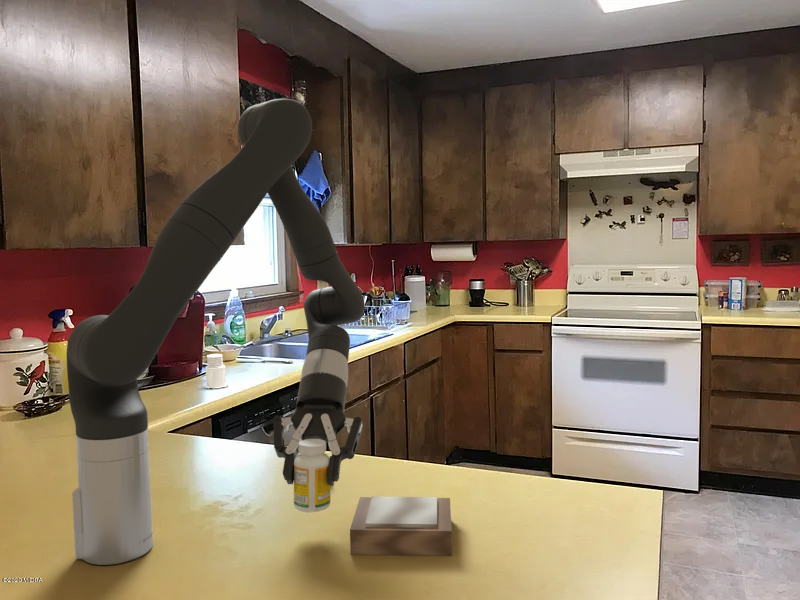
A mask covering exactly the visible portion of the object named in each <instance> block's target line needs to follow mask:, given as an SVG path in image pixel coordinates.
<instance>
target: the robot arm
mask: <svg viewBox="0 0 800 600" xmlns="http://www.w3.org/2000/svg"><path fill="white" fill-rule="evenodd" d="M312 132H313V122H312V117H311V115H310V112H309V110H308V109H307V107H305V106H304V104H302V103H301V102H299V101H298V100H294V99H290V98H275V99H271V100H268V101H264V102H261V103H257V104H254V105H252V106H249V107H248V108H246V110H244V111H243V112H242V114H240V118H239V119H238V125H237V134H238V138H239V140H240V143H241V146H242V147H241V149H239V151H238V152H237V153H236V155H234V157H233V158H232V159H231V160H230V161H229V162H227V163H226V164H225V165H224V166H222V167H221V168H220V169H218V170H217V171H216V172H214V173H213V174H212V175H211V176H209V177H208V178H207V179H205V180H204V181H203V182H202V183H201V184H199V185H198V186H197V187H196V188H195V189H194V190H192V191H191V193H189V195H188V196H186V198H185V199H184V200H183V201H182V202H181V203H180V204H179V206H178V207H177V208H176V209H175V211H174V212H173V213H172V215H171V216H170V217H169V218H168V220H167V221H166V223H165V224H164V226H163V227H162V229H161V230H160V232H159V233H158V236H157V237H156V240H155V242H154V245H153V247H152V250H151V252H150V254H149V258H148V260H147V262H146V265H145V268H144V270H143V272H142V274H141V276H140V278H139V279H138V281H137V283H136V284H135V285H134V287H132V289H131V291H129V293H128V294H127V295H126V296H125V297H124V299H123V300H122V301H121V302H120V303H119V304H118V305H117V306H116V308H115V309H114V310H113V311H112V312H110V313H109V314H108V315H107V314H100V315H99V314H98V315H93V316H90V317H87V318H85V319H83V320H82V321H80V322H79V323H78V324H77V325H76V326H75V327H74V328H73V330H72V331H71V333H70V335H69V337H68V340H67V345H66V370H67V371H66V372H67V382H68V384H67V385H68V396H69V405H70V406H69V407H70V410H71V414H72V417H73V420H74V425H75V426H74V427H75V443H76V459H77V462H76V463H77V479H78V483H77V484H78V487H77V488H75V489H74V490H72V494H71V495H72V497H71V498H72V500H71V501H72V513H73V514H72V515H73V516H72V518H73V535H74V537H73V538H74V555H75V560H83V561H85V562H86V563H89V564H92V565H98V566H101V565H103V566H105V565H106V566H107V565H116V564H121V563H125V562H129V561H133V560H135V559H139V558H140V557H142V556H143V555H145V554H147V553H148V552H150V550H152V547H153V545H154V542H153V541H154V539H153V533H154V531H153V530H154V529H153V516H152V515H153V514H152V513H153V512H152V510H153V509H152V492H151V491H152V489H151V470H150V469H151V468H150V466H151V465H150V464H151V463H150V449H149V448H150V445H149V418H148V409H147V408H146V406H145V403H144V402H143V400H142V397H141V395H140V392H139V386H138V379H139V378H140V377H141V376H142V375H144V374H145V372H146V370H147V369H148V368H149V366H150V365H151V364H152V362H153V360H154V359H155V357H156V356H157V354H158V351H159V349H160V348H161V346H162V345H163V343H164V340H165V339H166V337H167V336H168V334H169V332H170V331H171V329H172V327H173V325H174V323H175V322H176V320H177V319H178V317H179V315H180V314H181V313H182V311H183V310H184V308H185V307H186V305H187V304H188V303H189V302H190V300H191V299H192V297H193V296H194V295H195V294H196V292H197V291H198V290H199V288H200V287H201V286H202V285H203V283H204V282H205V281H206V280H207V278H208V276H209V275H210V273H211V272H212V271H213V269H214V268H215V267H216V266H217V265H218V264H219V262H221V260H222V258H223V257H224V255H225V254H226V253H227V251H229V249H230V247H231V246H232V244H233V243H234V242H235V240H236V239H237V237H238V235H239V234H240V232H241V231H242V229H243V228H244V227H245V225H246V224H247V223H248V221H249V220H250V219H251V217H252V215H254V213H255V212H256V210H257V209H258V207H259V206H260V204H261V202H262V201H263V200H264V198H265V197H266V195H268V197H269V198H270V200H271V202H272V205H273V206H274V208H275V210H276V213H277V215H278V216H279V219H280V221H281V223H282V225H283V228H284V230H285V233H286V235H287V238H288V240H289V243H290V245H291V249H292V252H293V254H294V257H295V259H296V263H297V265H298V269H299V270H300V273H301V275H302V277H303V278H305V279H306V280H309V281H320V282H321V281H322V282H325V283H327V284H328V285H329V286H327V287H323V288H318V289H314V290H312V291H310V293H308V294H307V295H306V298H305V299H304V302H303V311H304V316H305V321H306V326H307V336H308V337H307V338H308V342H307V348H306V354H305V360H304V362H303V365H302V369H301V374H300V381H299V386H298V392H297V397H296V398H297V399H296V406H295V409H294V412H293V413H292V414H291V416H287V417H281V416H280V415H278V414H277V415H275V416H273V418H272V420H273V421H272V423H273V424H272V425H273V427H272V428H273V448H274V451H275V454H276V456H277V458H279V459H280V458H284V462H283V467H282V475H283V479H284V481H286V483H287V485H294V460H295V458H296V457H297V456H298V455H300V453H299V451H298V449H299V442H300V441H302V440H305V439H322V440H324V441H325V442H326V445H327V444H328V447H329V450H330V452H331V455H330V456H329V458H330V461H329V470H328V484H329V485H330V486H335V482H338V481H339V480H340V475H341V474H340V473H341V465H342V463H341V462H342V461H344V460H346V459H348V460H352V459H354V457H355V454H356V451H357V448H358V444H359V441H360V438H361V435H362V431H363V421H362V418H361V417H360V416H355V417H354V418H350V417H346V414H345V407H346V397H347V388H348V385H349V380H348V379H349V366H348V365H349V357H350V356H349V355H350V346H351V344H350V343H351V338H350V335H349V333H348V331H347V330H346V329H345V328H343V327H342V325H347V324H348V325H349V324H353V323H356V322H358V321H360V319H362V317H363V315H364V312H365V306H366V305H365V300H364V296H363V294H362V291H361V290H360V287H358V285H357V284H356V282H355V281H354V280H353V278H352V276H351V275H350V274H349V273H348V270H347V269H346V267H345V266H344V264H343V263H342V261H341V258H340V257H339V254H338V251H337V249H336V245H335V242H334V239H333V236H332V233H331V231H330V228H329V227H328V226H329V225H328V224H327V221H326V220H325V218H324V217H323V215H322V214H321V212H320V210H319V209H318V207H317V206H316V205H315V204H314V202H313V200H312V199H311V198H310V197H309V196H308V194H307V192H306V191H305V190H304V189H303V186H302V185H301V183H300V182H299V180H298V177H297V176H296V174H295V171H294V168H293V164H294V163H295V162H296V161H297V160H298V159H299V158H300V156H301V155H302V154H304V152H305V150H306V148H307V147H308V145H309V143H310V141H311V139H312V138H311V137H312V134H313V133H312ZM290 426H292V427H293V428H294V430H295V431H294V433H293V435H292V437H291V440H290V442H289V443H288V445H287V446H286V445H285V433H286V434H287V432H288V431H289V427H290ZM345 427H346V428H347V430H346V431H347V432H348V436H347V439H346V442H345V445H344V446H343V447H340V446H339V443H338V440H337V435H338V434H339V433H340V432H341V431H343V428H345Z"/></svg>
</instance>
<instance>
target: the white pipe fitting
mask: <svg viewBox="0 0 800 600" xmlns="http://www.w3.org/2000/svg"><path fill="white" fill-rule="evenodd" d="M223 360H224V358H223V354H221V353H212V354H207V355H206V363H207V366H205V380H206V381H205V383H206V385H205V386H207V387H209V388H215V387H223V386H225V385H226V384H227V382H226V381H227V379H226V365H225V364H224V361H223Z"/></svg>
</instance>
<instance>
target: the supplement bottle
mask: <svg viewBox="0 0 800 600" xmlns="http://www.w3.org/2000/svg"><path fill="white" fill-rule="evenodd" d="M298 451H299V455H298V456H297V457H296V458H295V460H294V482H293V506H294V508H295V509H296V510H297V511H299V512H302V513H317V512H321V511H324V510H326V509H328V508H329V507H330V505H331V485H329V484H328V470H329V461H330V456H329V455H328V454H327V453H326V451H327V444H326V442H325V441H324V440H322V439H305V440H302V441H300V442H299V449H298Z"/></svg>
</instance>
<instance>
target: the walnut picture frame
mask: <svg viewBox="0 0 800 600" xmlns="http://www.w3.org/2000/svg"><path fill="white" fill-rule="evenodd" d="M452 536H453V533H452V513H451V498H450V497H437V496H360V497H359V499H358V503H357V506H356V509H355V513H354V516H353V519H352V523H351V525H350V529H349V547H350V548H349V552H350V555H375V556H377V555H378V556H380V555H381V556H383V555H384V556H436V557H437V556H440V557H442V556H443V557H444V556H446V557H450V556H453V552H452V551H453V550H452V548H453V543H452V542H453V541H452V538H453V537H452Z"/></svg>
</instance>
